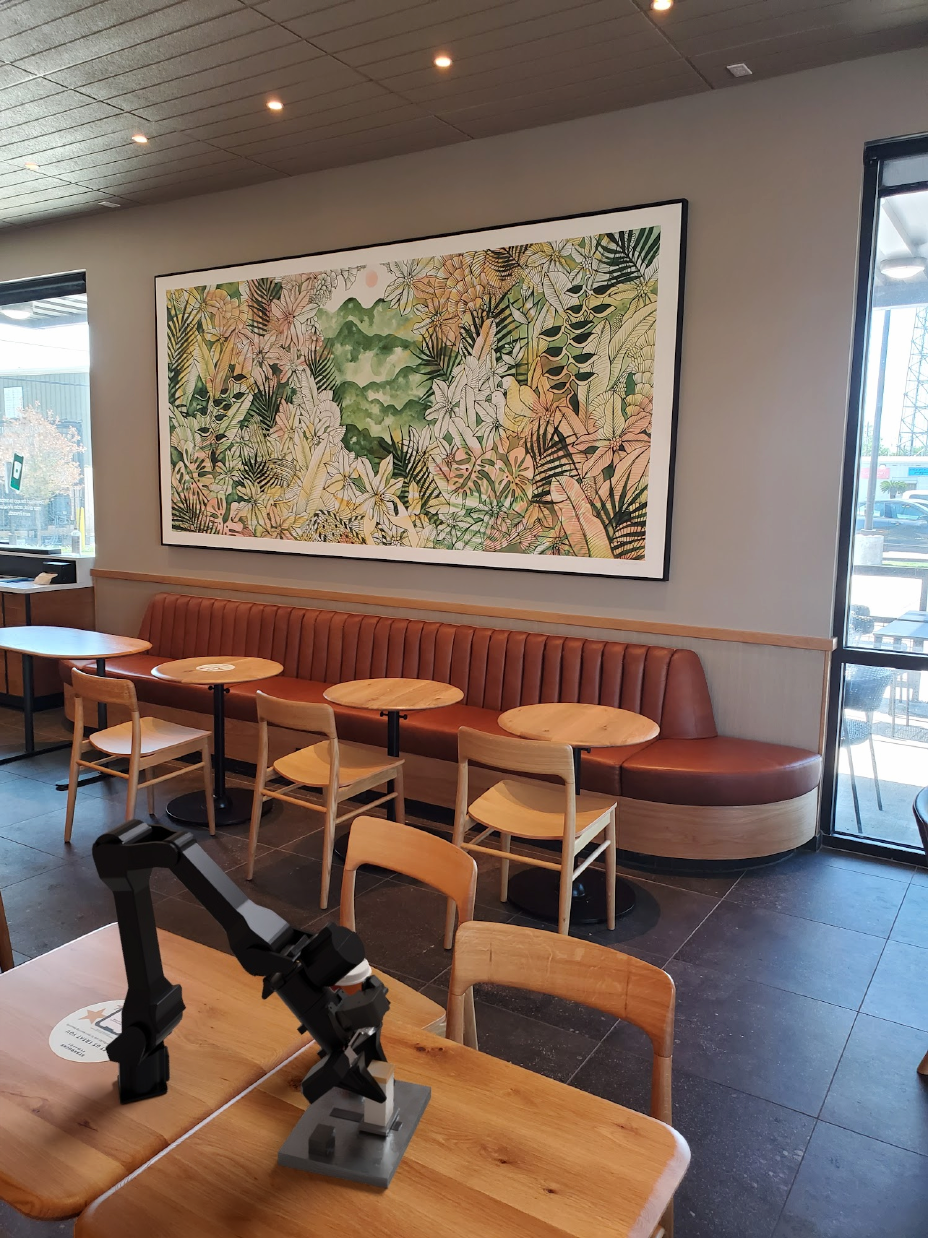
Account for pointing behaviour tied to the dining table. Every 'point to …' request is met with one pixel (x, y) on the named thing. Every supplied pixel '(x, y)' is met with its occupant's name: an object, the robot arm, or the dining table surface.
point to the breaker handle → (377, 1114)
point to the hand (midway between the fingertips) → (388, 1093)
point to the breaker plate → (353, 1136)
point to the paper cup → (354, 979)
